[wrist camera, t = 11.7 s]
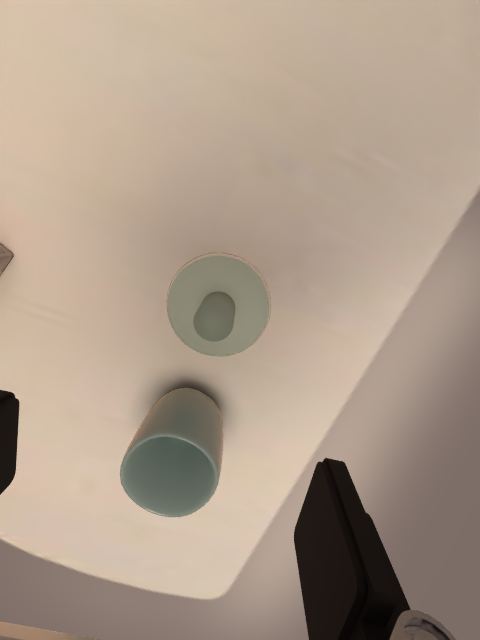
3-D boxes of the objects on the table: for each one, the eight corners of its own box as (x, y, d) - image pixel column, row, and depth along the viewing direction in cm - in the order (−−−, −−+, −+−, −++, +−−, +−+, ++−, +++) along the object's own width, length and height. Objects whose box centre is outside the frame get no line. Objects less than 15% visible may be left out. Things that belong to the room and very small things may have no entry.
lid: (233, 235, 31) (231, 236, 25) (287, 321, 33) (296, 340, 27) (149, 291, 32) (128, 304, 26) (205, 370, 34) (197, 398, 28)
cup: (240, 403, 36) (238, 469, 26) (199, 454, 37) (183, 533, 28) (178, 363, 34) (152, 415, 25) (139, 417, 36) (100, 486, 27)
